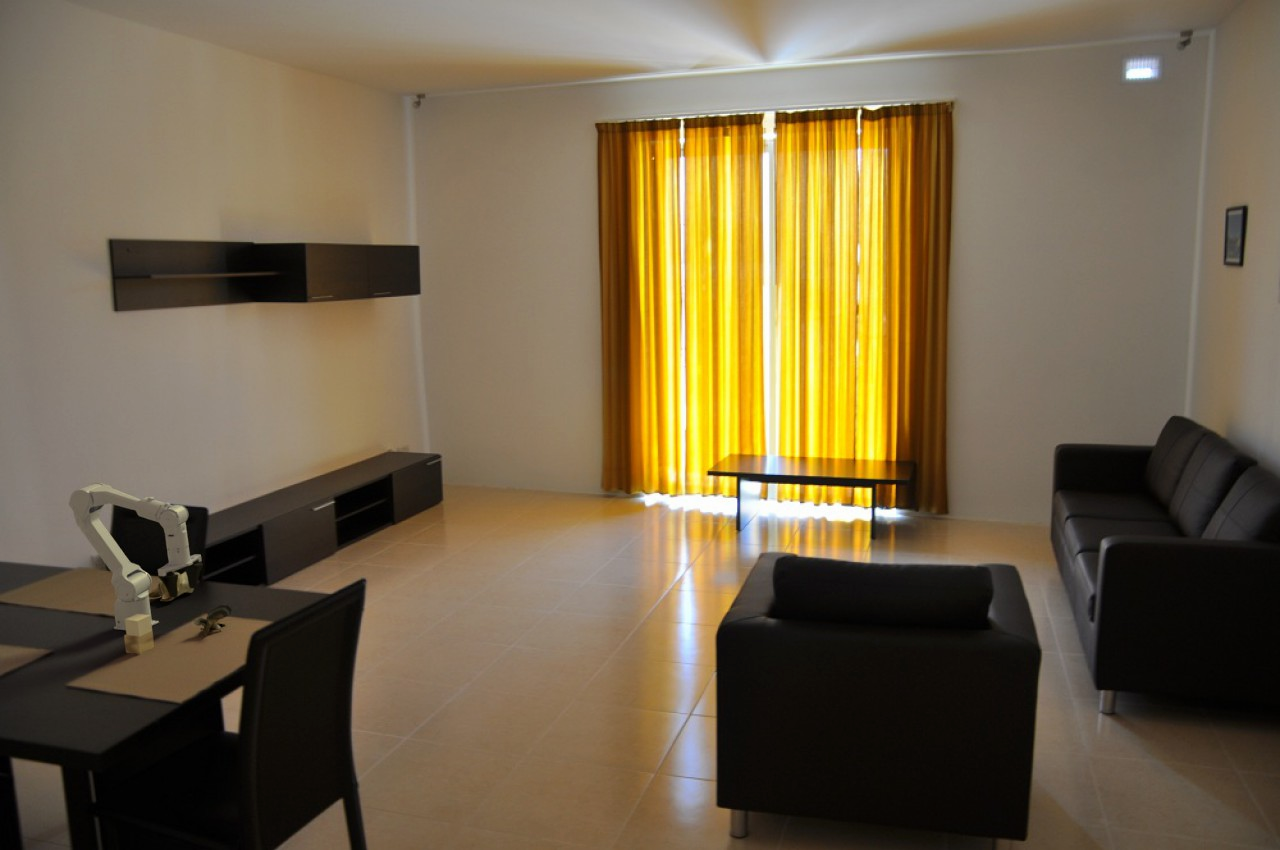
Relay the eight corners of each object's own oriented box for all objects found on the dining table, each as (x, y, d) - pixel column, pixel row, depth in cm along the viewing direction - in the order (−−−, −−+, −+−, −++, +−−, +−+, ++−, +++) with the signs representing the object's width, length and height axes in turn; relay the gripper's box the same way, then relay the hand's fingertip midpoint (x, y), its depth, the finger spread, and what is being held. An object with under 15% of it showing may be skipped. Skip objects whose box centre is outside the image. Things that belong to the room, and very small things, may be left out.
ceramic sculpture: (201, 566, 332) (158, 582, 320) (205, 592, 334) (163, 609, 322) (181, 562, 338) (138, 578, 326) (185, 587, 340) (143, 604, 328)
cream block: (126, 634, 286) (124, 619, 285) (139, 629, 290) (137, 613, 289) (139, 636, 284) (137, 620, 283) (152, 630, 288) (150, 615, 287)
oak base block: (126, 652, 286) (123, 635, 285) (140, 646, 291) (138, 628, 290) (140, 654, 284) (138, 637, 284) (154, 647, 289) (152, 630, 288)
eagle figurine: (225, 632, 295) (239, 614, 304) (206, 612, 293) (221, 595, 302) (204, 646, 298) (219, 627, 307) (186, 626, 296) (201, 608, 305)
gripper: (169, 555, 292) (175, 601, 295) (207, 540, 306) (212, 585, 308) (149, 553, 295) (156, 599, 297) (188, 539, 308) (194, 583, 310)
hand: (183, 592), depth 303 cm, fingers open, 7 cm apart
